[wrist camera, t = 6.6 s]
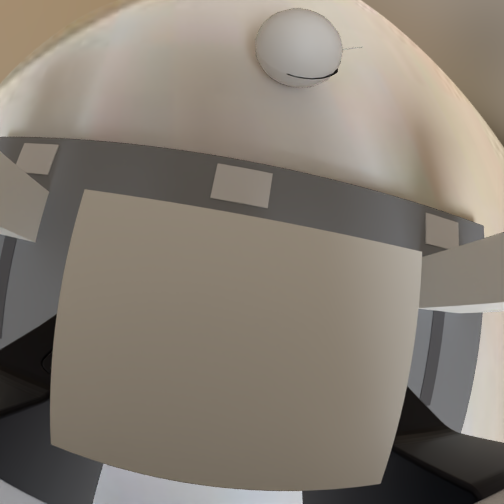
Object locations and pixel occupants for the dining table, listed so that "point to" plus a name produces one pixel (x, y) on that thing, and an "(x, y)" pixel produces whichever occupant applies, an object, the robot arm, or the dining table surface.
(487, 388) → the dining table surface
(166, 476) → the block
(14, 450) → the robot arm
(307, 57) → the white sphere
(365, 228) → the three pillar stand
